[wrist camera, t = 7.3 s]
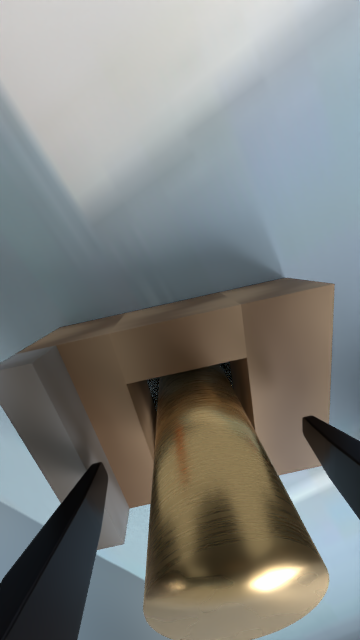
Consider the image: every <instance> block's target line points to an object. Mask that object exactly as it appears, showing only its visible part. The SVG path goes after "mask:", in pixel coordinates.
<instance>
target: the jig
mask: <svg viewBox="0 0 360 640" xmlns="http://www.w3.org/2000/svg"><path fill="white" fill-rule="evenodd" d="M333 309H334V284H332V283H324V282H316V281H308V280H299V279H291V278H282V279H277V280H273V281H268V282H264V283H259V284H255V285H250V286H246V287H241V288H237V289H232V290H228V291H223V292H219V293H214V294H209V295H205V296H200V297H196V298H191V299H187V300H182V301H178V302H173V303H169V304H164V305H160V306H155V307H151V308H146V309H142V310H137V311H132V312H128V313H123V314H119V315H114V316H110V317H105V318H101V319H96V320H92V321H87V322H83V323H78V324H74V325H69V326H65V327H60V328H58V329H57V330H55V331H53V332H52V333H50V334H48V335H47V336H45V337H43V338H42V339H40V340H38V341H37V342H35V343H33V344H31V345H30V346H28V347H26V348H25V349H23V350H21V351H20V352H18V353H16V354H15V355H13V356H11V357H10V358H8V359H6V360H5V361H3V362H1V363H0V405H1V406H2V408H3V410H4V411H5V413H6V415H7V416H8V418H9V419H10V421H11V423H12V424H13V426H14V428H15V429H16V431H17V432H18V434H19V436H20V437H21V439H22V441H23V442H24V444H25V445H26V447H27V449H28V450H29V452H30V454H31V455H32V457H33V458H34V460H35V462H36V463H37V465H38V467H39V468H40V470H41V471H42V473H43V475H44V476H45V478H46V480H47V481H48V483H49V485H50V486H51V488H52V489H53V491H54V493H55V494H56V496H57V498H58V499H59V501H60V502H61V503H62V502H63V500H64V499H65V498H66V497H67V495H68V494H69V493H70V491H71V490H72V489H73V487H74V486H75V485H76V484H77V482H78V481H79V480H80V478H81V477H82V476H83V475H84V473H85V472H86V471H87V469H88V468H89V467H90V466H91V465H92V464H93V463H97V462H102V463H103V465H104V467H105V469H106V471H107V473H108V486H107V494H106V501H105V508H104V515H103V522H102V528H101V533H100V538H99V542H98V547H97V550H99V549H104V548H108V547H113V546H117V545H122V544H124V541H125V535H126V528H127V522H128V515H129V509H130V508H133V507H138V506H142V505H147V504H151V491H152V477H153V462H154V448H155V434H156V419H157V412H156V409H155V406H154V402H153V399H152V396H151V393H150V389H149V386H148V383H147V380H148V379H152V378H157V377H161V376H166V375H170V374H175V373H179V372H184V371H188V370H193V369H197V368H202V367H206V366H211V365H216V364H220V363H225V362H230V368H231V375H232V382H233V389H234V392H235V393H236V395H237V397H238V399H239V401H240V403H241V405H242V407H243V409H244V411H245V413H246V415H247V416H248V418H249V420H250V422H251V424H252V426H253V428H254V430H255V432H256V434H257V436H258V438H259V439H260V441H261V443H262V445H263V447H264V449H265V451H266V453H267V455H268V457H269V459H270V461H271V462H272V464H273V466H274V468H275V470H276V472H277V474H278V475H282V474H287V473H292V472H296V471H301V470H305V469H310V468H314V467H319V466H322V465H321V463H320V462H319V460H318V458H317V457H316V455H315V453H314V452H313V450H312V448H311V447H310V445H309V444H308V442H307V440H306V439H305V437H304V435H303V432H302V418H303V417H305V416H310V415H312V416H315V417H317V418H318V419H320V420H322V421H324V422H326V423H327V424H329V410H330V385H331V360H332V335H333Z"/></svg>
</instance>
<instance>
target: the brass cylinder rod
mask: <svg viewBox="0 0 360 640" xmlns="http://www.w3.org/2000/svg"><path fill="white" fill-rule="evenodd" d="M328 585H329V574H328V571H327V568H326V566H325V564H324V562H323V560H322V558H321V556H320V554H319V553H318V551H317V549H316V547H315V545H314V543H313V541H312V539H311V537H310V535H309V533H308V531H307V530H306V528H305V526H304V524H303V522H302V520H301V518H300V516H299V514H298V512H297V510H296V508H295V507H294V505H293V503H292V501H291V499H290V497H289V495H288V493H287V491H286V489H285V487H284V485H283V484H282V482H281V480H280V478H279V476H278V474H277V472H276V470H275V468H274V466H273V464H272V462H271V461H270V459H269V457H268V455H267V453H266V451H265V449H264V447H263V445H262V443H261V441H260V439H259V438H258V436H257V434H256V432H255V430H254V428H253V426H252V424H251V422H250V420H249V418H248V416H247V415H246V413H245V411H244V409H243V407H242V405H241V403H240V401H239V399H238V397H237V395H236V393H235V392H234V390H233V388H232V386H231V384H230V382H229V380H228V378H227V376H226V374H225V372H224V370H223V369H222V367H221V365H220V364H216V365H211V366H206V367H202V368H197V369H193V370H188V371H184V372H179V373H175V374H170V375H166V376H161V377H159V391H158V405H157V419H156V434H155V448H154V462H153V477H152V491H151V505H150V519H149V534H148V548H147V562H146V576H145V592H144V605H143V610H144V616H145V618H146V621H147V622H148V624H149V625H150V626H151V627H152V628H153V629H154V630H155V631H156V632H158V633H160V634H161V635H163V636H165V637H167V638H170V639H173V640H251V639H255V638H259V637H262V636H265V635H268V634H271V633H274V632H276V631H279V630H281V629H283V628H285V627H287V626H289V625H291V624H293V623H295V622H296V621H298V620H299V619H301V618H303V617H304V616H305V615H307V614H308V613H309V612H310V611H311V610H313V609H314V608H315V607H316V606H317V605H318V603H319V602H320V601H321V600H322V598H323V597H324V595H325V593H326V591H327V589H328Z"/></svg>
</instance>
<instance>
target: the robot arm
mask: <svg viewBox="0 0 360 640" xmlns="http://www.w3.org/2000/svg"><path fill="white" fill-rule="evenodd" d="M302 432H303V435H304V437H305V439H306V440H307V442H308V444H309V445H310V447H311V448H312V450H313V452H314V453H315V455H316V457H317V458H318V460H319V462H320V463H321V465H322V467H323V468H324V470H325V471H326V473H327V475H328V476H329V478H330V479H331V481H332V482H333V483H334V485H335V486H336V488H337V489H338V490H339V492H340V493H341V495H342V496H343V497H344V499H345V500H346V501H347V503H348V504H349V506H350V507H351V508H352V510H353V511H354V513H355V514H356V515H357V517H358V518H359V519H360V441H358V440H357V439H355V438H353V437H351V436H349V435H347V434H346V433H344V432H342V431H340V430H338V429H337V428H335V427H333V426H331V425H329V424H327V423H326V422H324V421H322V420H320V419H318V418H317V417H315V416H312V415H310V416H305V417H303V418H302ZM107 486H108V473H107V471H106V469H105V467H104V465H103V463H102V462H97V463H93V464H92V465H91V466H90V467H89V468H88V469H87V471H86V472H85V473H84V475H83V476H82V477H81V478H80V480H79V481H78V482H77V484H76V485H75V486H74V487H73V489H72V490H71V491H70V493H69V494H68V495H67V497H66V498H65V499H64V500H63V502H62V503H61V504H60V506H59V507H58V508H57V509H56V511H55V512H54V513H53V515H52V516H51V517H50V518H49V520H48V521H47V522H46V524H45V525H44V526H43V528H42V529H41V530H40V531H39V533H38V534H37V535H36V537H35V538H34V539H33V540H32V542H31V543H30V545H29V546H28V547H27V548H26V549H25V551H24V552H23V553H22V555H21V556H20V557H19V559H18V560H17V561H16V562H15V564H14V565H13V566H12V568H11V569H10V570H9V572H8V573H7V574H6V575H5V577H4V578H3V580H2V582H1V583H0V640H77V638H78V634H79V629H80V625H81V620H82V615H83V611H84V606H85V602H86V597H87V593H88V588H89V584H90V578H91V574H92V569H93V565H94V561H95V556H96V552H97V547H98V542H99V538H100V533H101V528H102V522H103V515H104V508H105V501H106V494H107Z"/></svg>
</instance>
